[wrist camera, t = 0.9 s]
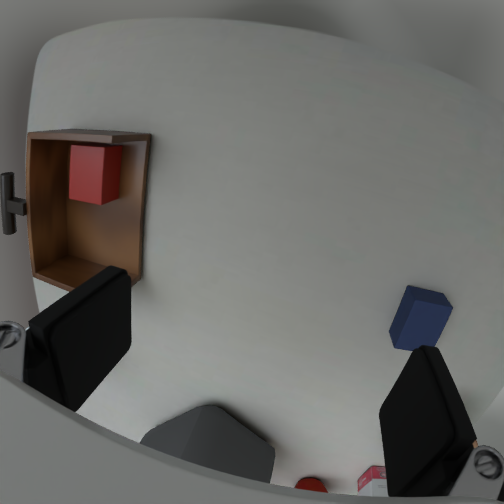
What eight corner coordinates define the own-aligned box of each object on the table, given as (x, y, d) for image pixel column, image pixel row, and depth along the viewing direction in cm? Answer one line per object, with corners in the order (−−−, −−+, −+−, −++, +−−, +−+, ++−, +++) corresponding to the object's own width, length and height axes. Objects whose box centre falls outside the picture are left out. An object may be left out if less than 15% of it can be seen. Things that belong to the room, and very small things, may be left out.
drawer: (43, 128, 27) (-2, 133, 21) (151, 133, 25) (107, 135, 19) (43, 248, 32) (5, 268, 26) (141, 278, 31) (105, 310, 24)
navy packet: (407, 284, 26) (415, 299, 23) (443, 293, 25) (453, 307, 23) (388, 331, 28) (393, 348, 25) (423, 337, 27) (430, 354, 25)
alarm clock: (199, 466, 41) (168, 544, 27) (143, 425, 40) (97, 504, 26) (278, 439, 35) (256, 544, 21) (213, 388, 34) (164, 500, 20)
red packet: (89, 142, 26) (70, 144, 23) (122, 145, 26) (104, 147, 23) (86, 193, 28) (68, 199, 25) (118, 199, 27) (101, 205, 25)
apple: (340, 480, 37) (338, 520, 30) (313, 492, 40) (309, 530, 33) (309, 468, 37) (304, 510, 30) (283, 481, 39) (276, 520, 32)
